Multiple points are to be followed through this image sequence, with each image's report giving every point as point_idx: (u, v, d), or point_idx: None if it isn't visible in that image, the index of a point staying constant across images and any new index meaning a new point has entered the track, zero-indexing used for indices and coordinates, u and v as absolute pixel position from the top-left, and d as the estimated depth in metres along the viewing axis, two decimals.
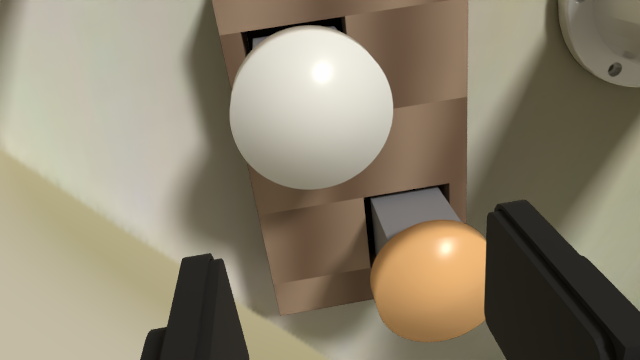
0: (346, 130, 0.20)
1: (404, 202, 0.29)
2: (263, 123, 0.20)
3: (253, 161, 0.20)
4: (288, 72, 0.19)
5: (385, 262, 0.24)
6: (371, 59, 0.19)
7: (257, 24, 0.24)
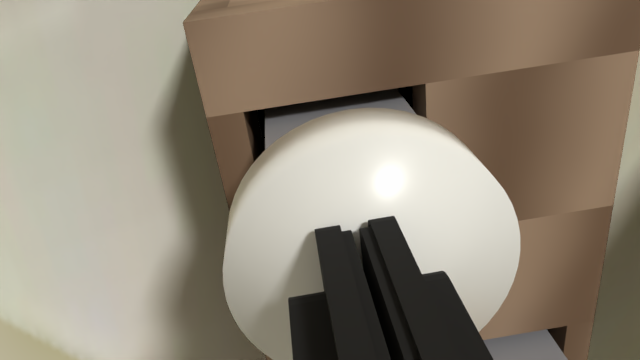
0: None
1: (498, 356, 0.18)
2: (284, 287, 0.11)
3: (265, 344, 0.11)
4: (334, 204, 0.10)
5: None
6: (490, 178, 0.10)
7: (273, 98, 0.13)
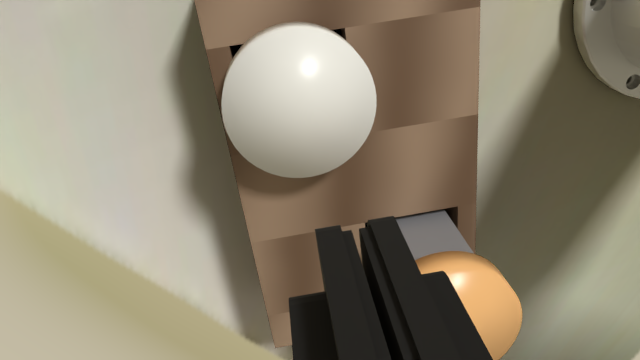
0: (332, 121, 0.21)
1: (409, 227, 0.26)
2: (253, 114, 0.21)
3: (244, 151, 0.21)
4: (276, 66, 0.20)
5: None
6: (355, 53, 0.20)
7: (248, 37, 0.21)
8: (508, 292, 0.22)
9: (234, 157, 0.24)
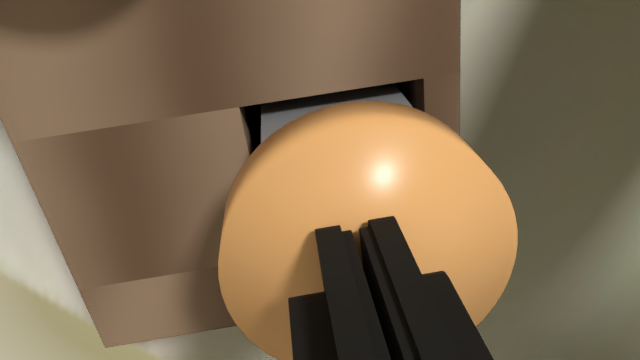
0: None
1: (320, 98, 0.15)
2: None
3: None
4: None
5: (236, 196, 0.10)
6: None
7: None
8: (487, 182, 0.10)
9: None
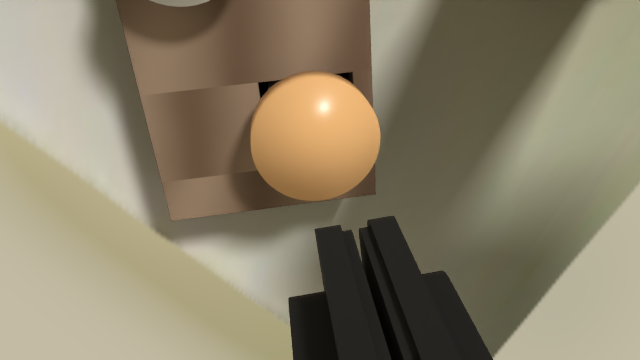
0: None
1: None
2: None
3: None
4: None
5: (259, 107, 0.24)
6: None
7: None
8: (365, 105, 0.24)
9: None
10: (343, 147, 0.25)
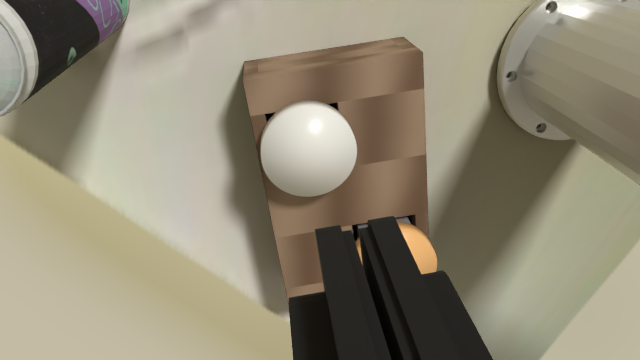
0: (329, 161, 0.34)
1: None
2: (280, 158, 0.33)
3: (274, 180, 0.34)
4: (295, 129, 0.33)
5: (358, 249, 0.37)
6: (343, 121, 0.33)
7: (276, 108, 0.34)
8: (427, 245, 0.37)
9: (265, 182, 0.36)
10: None
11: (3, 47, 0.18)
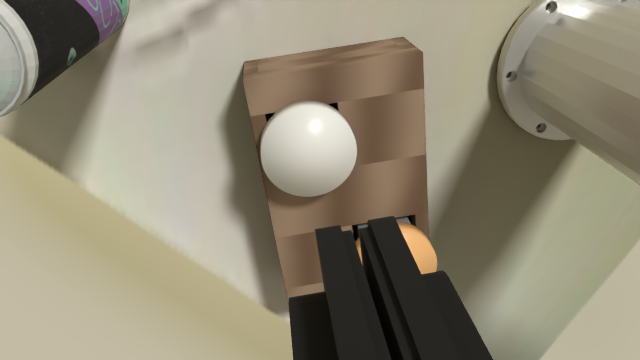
0: (329, 161, 0.34)
1: None
2: (280, 158, 0.33)
3: (274, 180, 0.34)
4: (295, 129, 0.32)
5: (358, 249, 0.37)
6: (343, 121, 0.33)
7: (276, 108, 0.34)
8: (427, 245, 0.37)
9: (265, 182, 0.36)
10: None
11: (3, 47, 0.18)
